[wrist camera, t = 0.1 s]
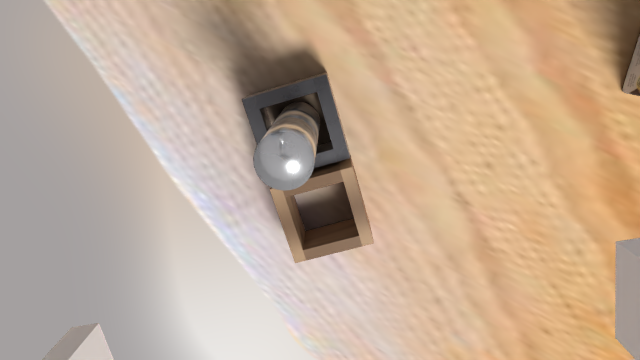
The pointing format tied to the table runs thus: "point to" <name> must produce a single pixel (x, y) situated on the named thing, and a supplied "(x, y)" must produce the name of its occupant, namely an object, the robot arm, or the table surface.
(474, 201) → the table surface
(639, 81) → the grey printed carton
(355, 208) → the open square brown box
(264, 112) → the socket
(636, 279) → the robot arm
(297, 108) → the dome-ended metal rod
